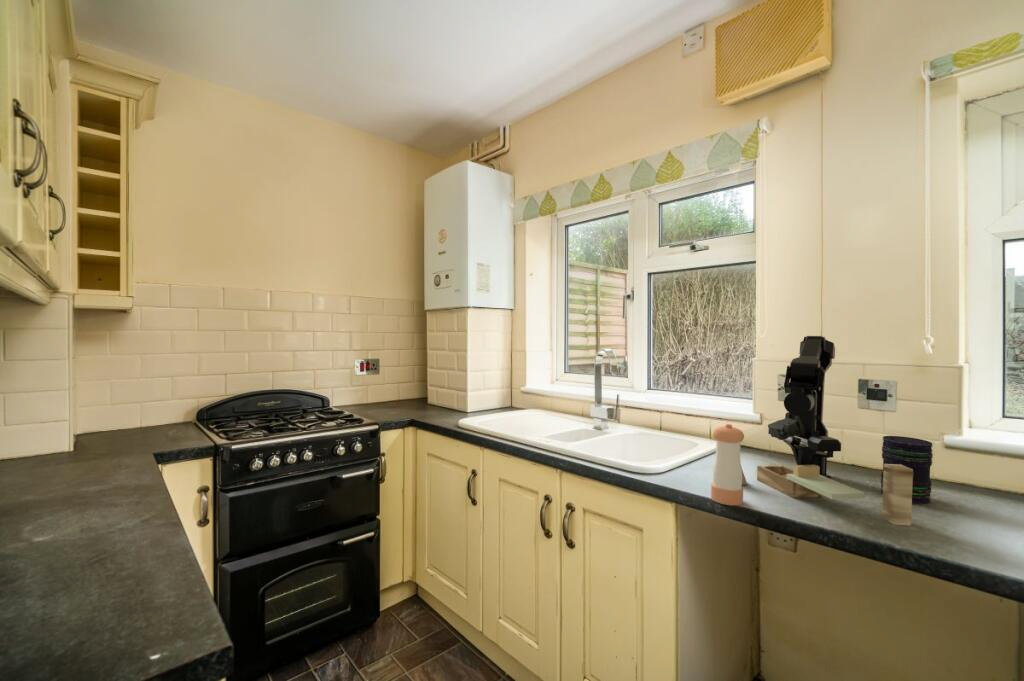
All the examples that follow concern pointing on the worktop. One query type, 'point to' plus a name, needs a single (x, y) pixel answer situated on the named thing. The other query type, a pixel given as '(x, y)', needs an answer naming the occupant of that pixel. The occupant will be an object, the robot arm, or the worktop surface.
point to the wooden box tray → (783, 481)
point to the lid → (822, 483)
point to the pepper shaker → (727, 466)
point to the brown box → (897, 494)
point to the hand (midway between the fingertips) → (801, 469)
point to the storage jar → (910, 463)
